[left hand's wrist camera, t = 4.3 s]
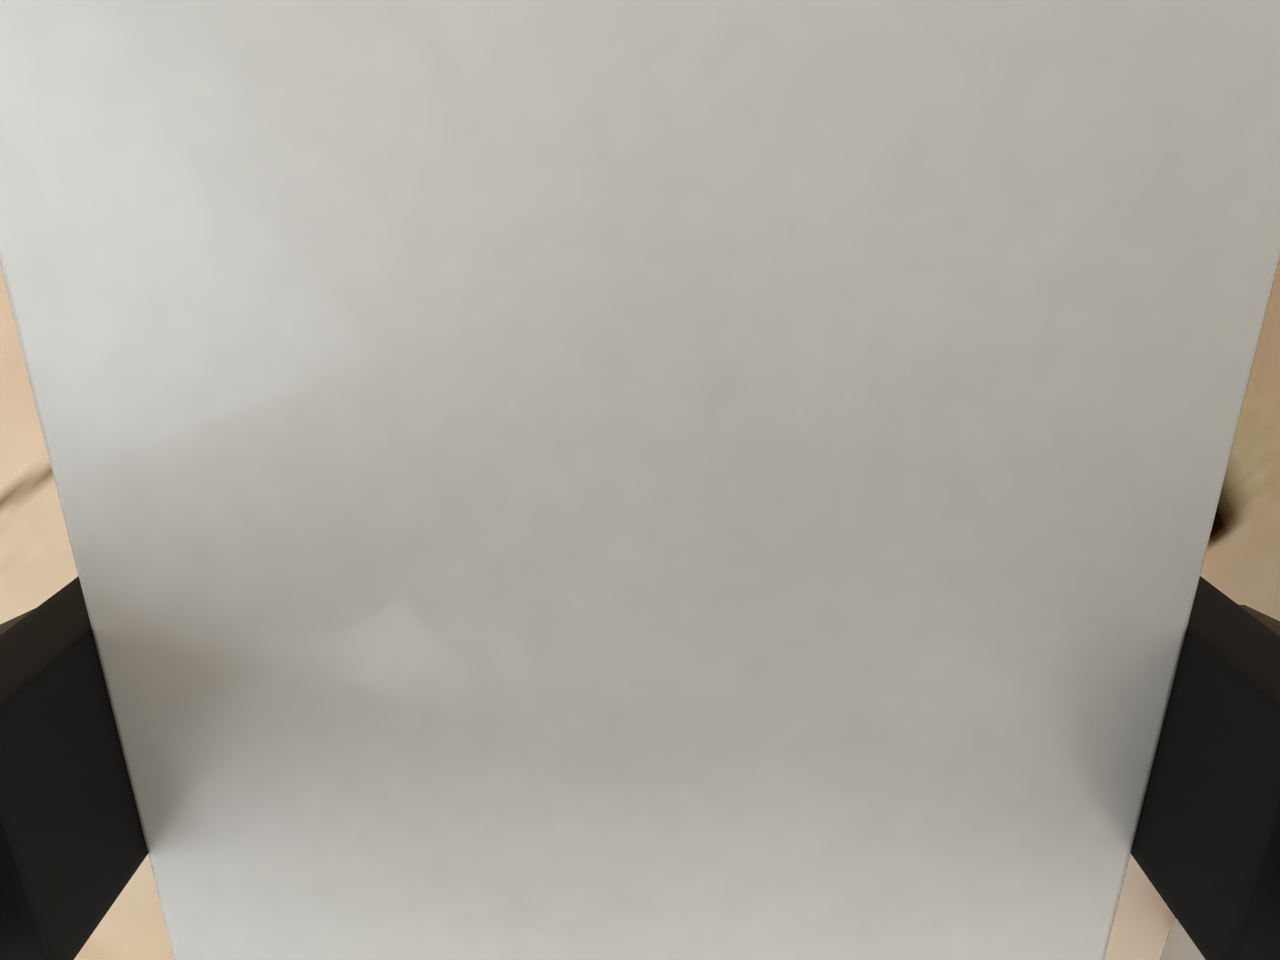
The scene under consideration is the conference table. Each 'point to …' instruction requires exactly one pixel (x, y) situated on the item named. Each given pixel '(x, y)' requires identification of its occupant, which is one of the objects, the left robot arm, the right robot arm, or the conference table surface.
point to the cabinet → (639, 452)
